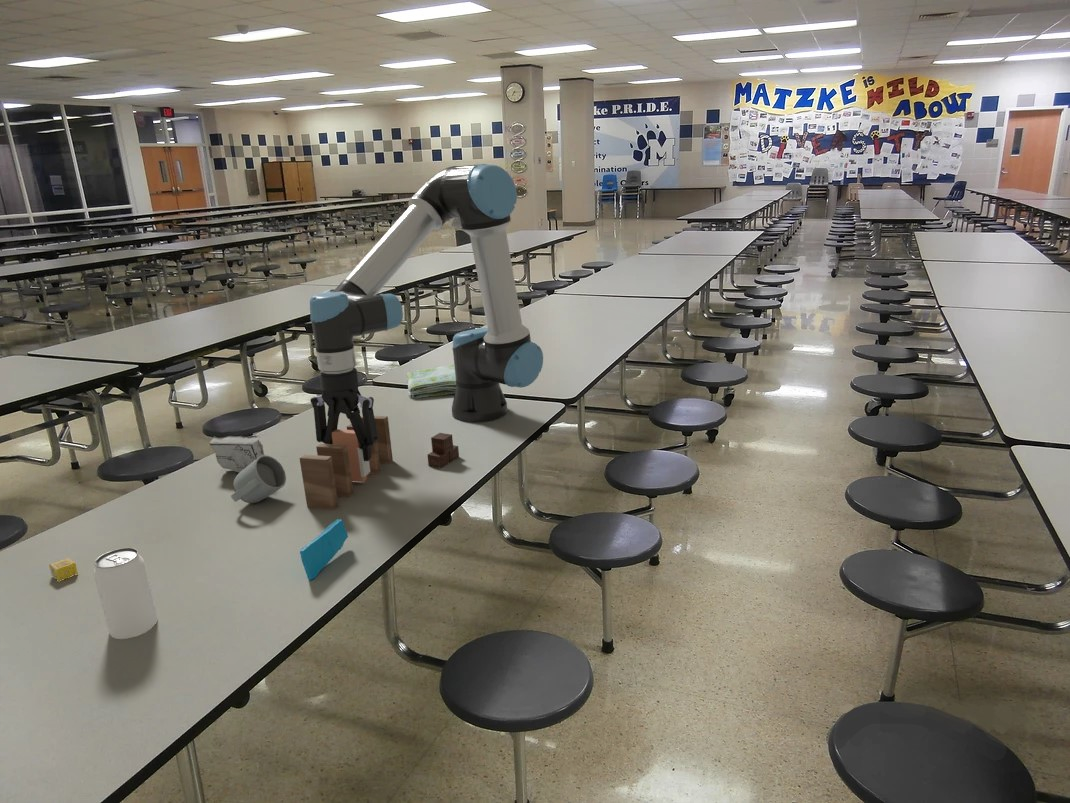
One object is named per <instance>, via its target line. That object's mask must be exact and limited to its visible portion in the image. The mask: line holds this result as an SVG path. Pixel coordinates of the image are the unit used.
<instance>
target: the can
mask: <svg viewBox="0 0 1070 803" xmlns="http://www.w3.org/2000/svg"><path fill="white" fill-rule="evenodd" d="M94 566H95V567H94V570H93V576H94V581H95V585H96V588H97V592H98V596H99V600H100V603H101V604H100V605H101V608H102V611H103V615H104V618H105V622H106V626H107V629H108V633H109V636H110V637H111V638H114V639H116V640H117V639H118V640H125V639H132V638H135V637H139V636H141V635H144V634H145V633H147V632H148V631H150V630H152V629H153V628H154V627H155V626H156V625H155V624H157V623H158V620H159V618H158V613H157V608H156V605H155V600H154V596H153V593H152V588H151V585H150V581H149V575H148V572H147V567H146V564H145V560H144V558H143V557H142V556H141V555H140V554H139V550H138V549H136V548H134V547H121V548H117V549H113V550H110V551H107V552H105V553H103V554H102V555H100V556H99V557H97V558H96V559H95V561H94ZM154 625H155V626H154ZM153 626H154V627H153ZM152 627H153V628H152Z"/></svg>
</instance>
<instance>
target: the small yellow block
mask: <svg viewBox="0 0 1070 803" xmlns="http://www.w3.org/2000/svg"><path fill="white" fill-rule="evenodd" d="M48 566H49V570H50V571H49V572H50V574H51V577H52V576H53V577H54V578H55V579H57V580H58V581H60V580H62V579H65V578H68V577H70V576H72V575H75V574H78V575H79V573H78V569H77V564H76V562H74V561H73V560H71V558H69V557H66V558H63V559H60V560H58V561H55V562H51V563H49V565H48ZM54 578H53V579H54ZM55 579H54V580H55ZM58 581H57V582H58Z"/></svg>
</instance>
